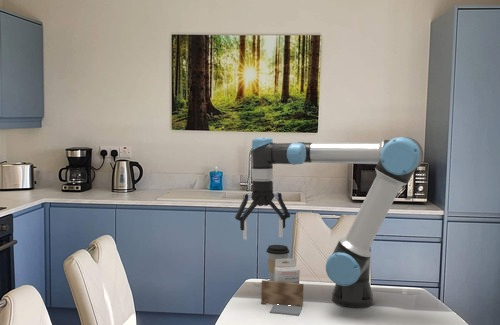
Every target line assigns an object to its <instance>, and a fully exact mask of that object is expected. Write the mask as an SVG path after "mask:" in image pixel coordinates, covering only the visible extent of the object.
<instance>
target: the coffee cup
mask: <svg viewBox="0 0 500 325" xmlns="http://www.w3.org/2000/svg"><path fill="white" fill-rule="evenodd" d="M265 251H266V253H267V267H268V275H269V281H274V273H275V260H276V259H289V254H290V249H289V247H288V246H287V245H284V244H271V245H268V247H267V248H266V250H265ZM282 263H289V262H287V261H285V262H282Z"/></svg>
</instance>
